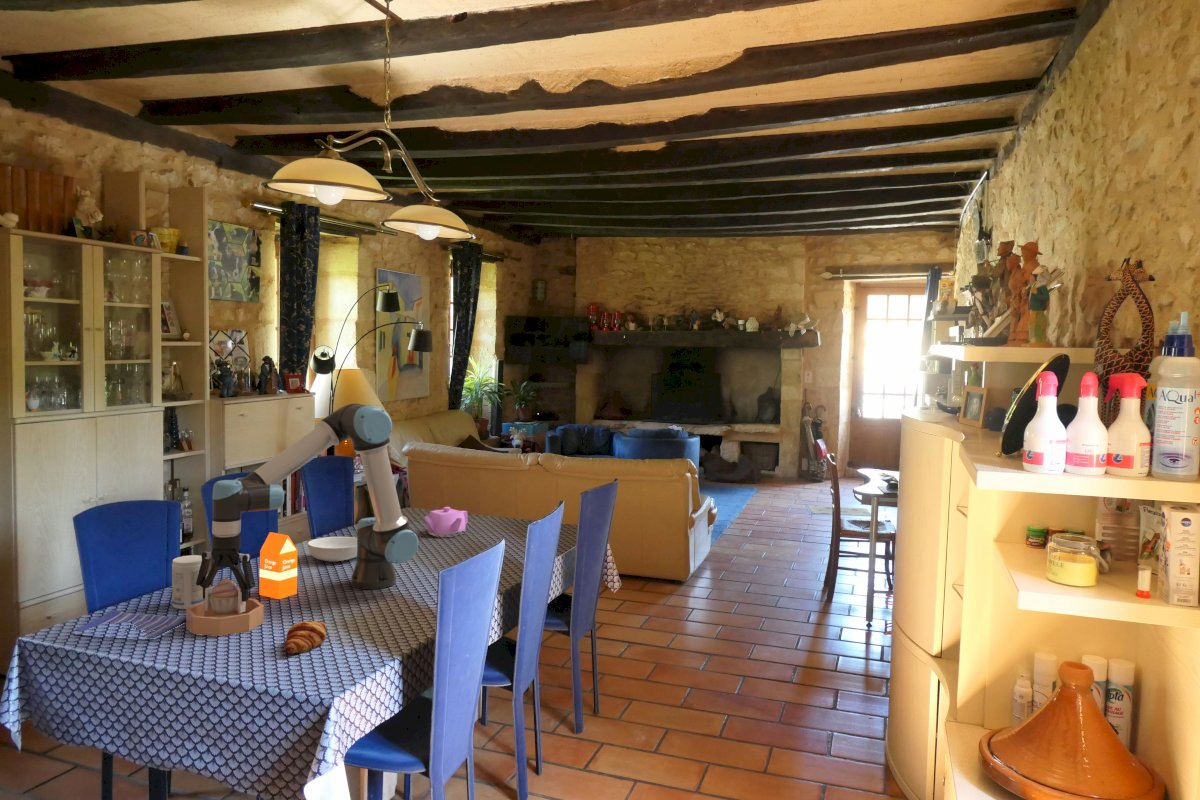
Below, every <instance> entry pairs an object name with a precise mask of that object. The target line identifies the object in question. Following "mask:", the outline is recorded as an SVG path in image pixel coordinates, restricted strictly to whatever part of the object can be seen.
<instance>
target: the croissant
mask: <svg viewBox="0 0 1200 800" xmlns="http://www.w3.org/2000/svg"><path fill="white" fill-rule="evenodd" d="M326 632H327V624H326V623H325V622H321V621H315V620H307V621H301V622H298V623H295V624H293V625H292V626H291V627H290V628H289V629H288V630H287V633H286V637H285V638H286V639H285V643H284V646H283V648H284V651H285V652H286V653H288V654H299V653H305V652H307V651H310V650H313V649H315V648H317V647H318V646H320V645H321V644H322V643H324V642H325V640H326V638H327V634H326Z"/></svg>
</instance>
